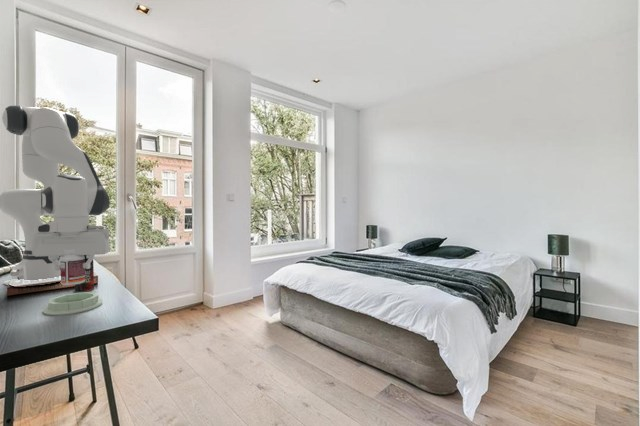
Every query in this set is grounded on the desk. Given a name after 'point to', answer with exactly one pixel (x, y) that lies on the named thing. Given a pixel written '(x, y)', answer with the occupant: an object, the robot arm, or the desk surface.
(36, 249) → the robot arm
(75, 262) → the pill bottle
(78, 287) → the deodorant
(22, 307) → the desk surface
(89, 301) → the dish
